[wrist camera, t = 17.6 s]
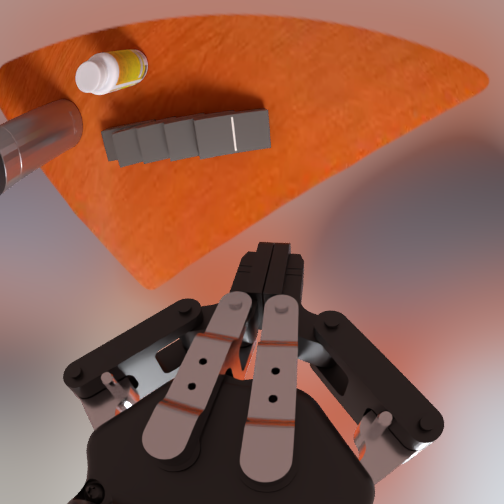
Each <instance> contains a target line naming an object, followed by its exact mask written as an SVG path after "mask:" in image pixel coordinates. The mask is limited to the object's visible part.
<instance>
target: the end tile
mask: <svg viewBox="0 0 504 504" xmlns="http://www.w3.org/2000/svg"><path fill="white" fill-rule="evenodd" d="M153 121H156V120H155V119H154V120H148V121H142V122H137V123H132V124H127V125H122V126H117V127H113V128H108V129H105V130H104V131H102V132H101V134H102V138H103V142H104V146H105V150H106V154H107V157H108V161H114V160H118V157H117V154H116V150H115V146H114V142H113V138H112V134H113V133H114V132H116V131H120V130H123V129H127V128H130V127H134V126H138V125H141V124H145V123H149V122H153Z"/></svg>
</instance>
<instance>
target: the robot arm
mask: <svg viewBox="0 0 504 504" xmlns="http://www.w3.org/2000/svg"><path fill="white" fill-rule="evenodd" d="M82 126H83V124H82V118H81V115H80V112H79V110H78V108H77V107H76V106H75V105H74V104H73V103H72V102H71V101H69V100H66V99H60V100H57V101H54V102H51V103H49V104H46V105H44V106H41V107H38V108H36V109H34V110H31V111H29V112H27V113H24V114H22V115H20V116H18V117H15V118H13V119H11V120H9V121H7V122H5V123H3V124H1V125H0V195H1V194H2V193H4V192H5V191H6V190H8V189H9V188H11V187H12V186H13V185H15V184H16V183H17V182H19V181H20V180H22V179H23V178H24V177H26V176H27V175H29V174H30V173H32V172H33V171H35V170H36V169H38V168H39V167H41V166H43V165H44V164H46V163H47V162H49V161H50V160H52V159H54V158H55V157H57V156H59V155H60V154H62V153H64V152H65V151H67V150H69V149H70V148H72V147H74V146H75V145H76V144H77V143H78V142H79V140H80V138H81V135H82ZM303 272H304V260H303V259H302V257H301V255H300V254H291V248H290V243H270V242H259V244H258V248H257V251H256V252H247V253H246V254H245V255H244V256H243V257H242V259H241V262H240V265H239V267H238V270H237V273H236V276H235V279H234V281H233V285H232V287H231V290H230V293H228V294H226V295H224V296H223V297H222V298H221V300H220V302H219V303H218V304H214V305H209V306H202V307H201V305H200V303H199V302H198V301H196V300H194V299H182V300H179V301H177V302H175V303H174V304H172V305H170V306H169V307H167V308H165V309H164V310H162V311H160V312H159V313H157V314H155V315H153V316H152V317H150V318H148V319H146V320H145V321H143V322H141V323H139V324H138V325H136V326H134V327H133V328H131V329H129V330H127V331H126V332H124V333H122V334H121V335H119V336H117V337H115V338H114V339H112V340H110V341H109V342H107V343H105V344H104V345H102V346H100V347H98V348H97V349H95V350H93V351H91V352H90V353H88V354H86V355H84V356H83V357H81V358H79V359H78V360H76V361H74V362H72V363H71V364H70V365H68V367H67V368H66V369H65V371H64V376H63V379H64V382H65V384H66V385H67V386H68V387H69V388H70V389H71V390H72V391H73V392H74V394H75V395H76V396H77V397H78V398H79V399H80V400H81V402H82V405H83V407H84V409H85V411H86V414H87V416H88V418H89V420H90V422H91V424H92V426H93V428H94V432H93V433H92V434H91V436H90V438H89V441H88V444H87V460H88V471H87V479H86V483H85V485H84V487H83V488H82V489H81V491H80V492H79V493H78V494H77V495H76V496H75V497H74V498H73V499H72V500H70V501H69V502H68V504H373V501H374V497H375V487H374V485H375V484H376V483H378V482H379V481H380V480H382V479H383V478H384V477H386V476H387V475H388V474H390V473H391V472H392V471H393V470H394V469H396V468H397V467H398V466H400V465H401V464H404V463H406V462H408V461H409V460H410V459H412V458H413V457H415V456H416V455H417V454H419V453H420V452H421V451H422V450H424V449H425V448H426V447H428V446H429V445H430V444H431V443H432V442H434V441H435V440H436V439H437V438H438V437H439V436H440V435H441V433H442V431H443V429H444V420H443V417H442V415H441V414H440V412H439V411H438V410H437V409H436V408H435V407H434V406H433V405H432V404H431V403H430V402H429V401H428V400H427V399H426V398H425V397H424V396H423V395H422V393H421V392H420V391H419V390H418V389H417V388H416V387H415V386H414V385H413V384H412V383H411V382H410V381H409V380H408V379H407V378H406V377H405V376H404V375H403V374H402V373H401V372H400V371H399V370H398V369H397V368H396V367H395V366H394V365H393V364H392V363H391V362H390V361H389V360H388V359H387V358H386V357H385V356H384V355H383V354H382V353H381V352H380V351H379V350H378V349H377V348H376V347H375V346H374V345H373V344H372V343H371V342H370V341H369V340H368V339H367V338H366V337H365V336H364V335H363V334H362V333H361V332H360V331H359V330H358V329H357V328H356V327H355V326H354V325H353V324H352V323H351V322H350V321H349V320H348V319H347V318H346V317H345V316H344V315H343V314H341V313H339V312H336V311H325V312H322V313H320V314H319V315H316V314H313V313H311V312H309V311H307V310H306V309H304V308H303V306H302V305H301V300H302V290H303V274H304V273H303ZM258 329H260V330H262V332H261V341H260V342H258V346H257V353H256V361H255V368H254V375H253V379H249V380H245V376H246V372H247V369H248V366H249V364H250V361H251V357H252V355H253V352H254V349H255V346H256V337H257V333H258ZM178 338H180V339H179V340H177V341H176V342H174V343H172V344H171V345H169V346H168V347H166V348H164V349H163V350H161V351H159V350H160V349H162V348H163V347H165V346H167V345H168V344H170V343H171V342H173V341H175V340H176V339H178ZM158 351H159V352H158ZM157 352H158V353H157ZM297 359H300V360H303V361H305V362H308V363H310V366H311V368H312V369H313V371H314V372H315V373H316V374H317V376H318V377H319V378H320V379H321V381H322V382H323V383H324V384H325V386H326V387H327V388H328V389H329V391H330V392H331V393H332V394H333V395H334V397H335V398H336V399H337V400H338V402H339V403H340V404H341V405H342V406H343V407H344V409H345V410H346V411H347V413H348V414H349V415H350V416H351V417H352V418H353V420H354V421H355V422H356V423H357V425H358V427H357V428H356V430H355V432H354V443H355V445H356V446H357V448H358V451H359V458H357V457H356V455H355V454H354V453H353V451H352V450H351V449H350V447H349V446H348V445H347V443H346V442H345V440H344V439H343V438H342V436H341V435H340V434H339V432H338V431H337V430H336V428H335V427H334V425H333V424H332V423H331V421H330V420H329V419H328V417H327V416H326V414H325V413H324V411H323V410H322V409H321V407H320V406H319V405H318V403H317V402H316V401H315V400H314V399H313V398H312V397H311V396H310V395H308V394H307V393H305V392H304V391H302V390H299V389H297V388H296V385H297ZM154 390H155V391H154ZM152 391H153V392H152ZM149 393H150V394H149ZM147 394H148V395H147ZM146 395H147V396H146ZM144 396H145V397H144ZM143 397H144V398H143ZM141 398H143V399H141ZM140 399H141V400H140Z"/></svg>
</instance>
